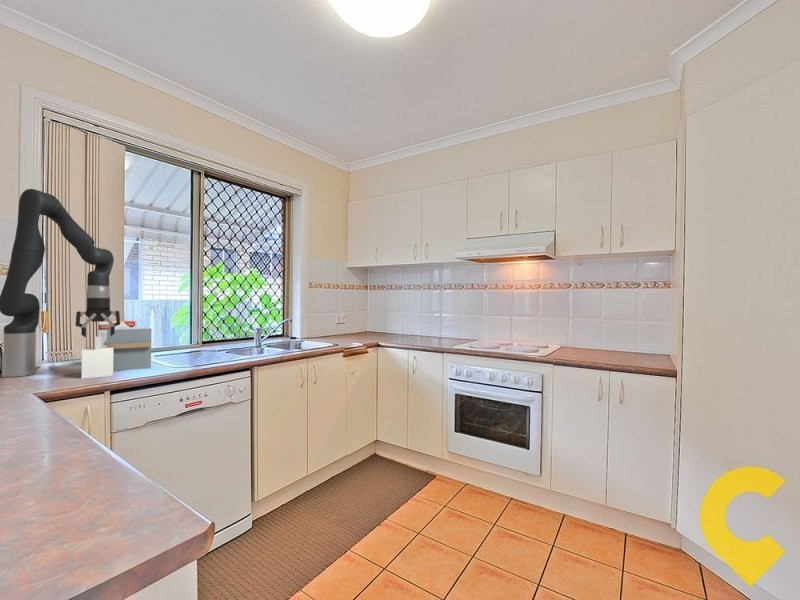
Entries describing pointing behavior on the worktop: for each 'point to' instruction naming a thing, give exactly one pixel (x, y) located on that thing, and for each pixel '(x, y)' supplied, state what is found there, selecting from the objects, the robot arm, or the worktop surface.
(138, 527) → the worktop surface
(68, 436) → the worktop surface
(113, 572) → the worktop surface
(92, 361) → the white block
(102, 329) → the cracker box
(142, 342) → the wall board
